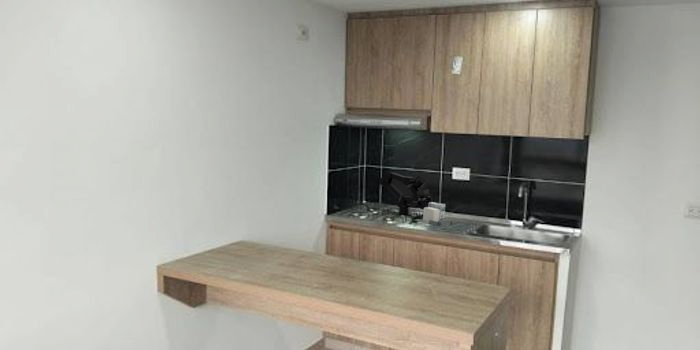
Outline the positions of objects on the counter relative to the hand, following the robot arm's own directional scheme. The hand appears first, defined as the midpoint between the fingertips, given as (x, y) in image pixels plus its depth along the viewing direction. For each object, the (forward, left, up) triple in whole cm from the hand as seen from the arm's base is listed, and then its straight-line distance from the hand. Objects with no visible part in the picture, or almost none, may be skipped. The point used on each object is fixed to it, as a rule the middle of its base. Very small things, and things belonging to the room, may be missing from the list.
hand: (426, 210), depth 372 cm
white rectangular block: (+4, -2, -7) cm, 8 cm away
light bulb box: (+4, +18, -8) cm, 20 cm away
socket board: (+6, -3, -8) cm, 10 cm away
